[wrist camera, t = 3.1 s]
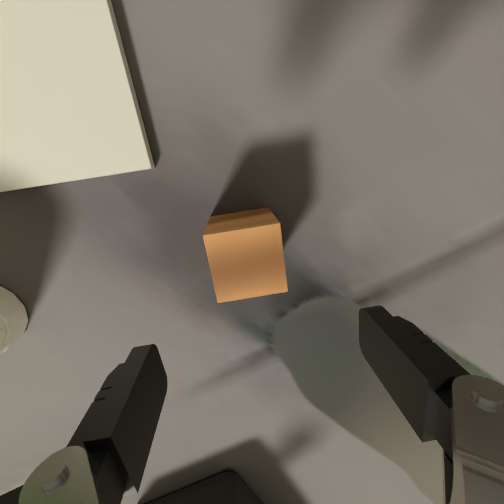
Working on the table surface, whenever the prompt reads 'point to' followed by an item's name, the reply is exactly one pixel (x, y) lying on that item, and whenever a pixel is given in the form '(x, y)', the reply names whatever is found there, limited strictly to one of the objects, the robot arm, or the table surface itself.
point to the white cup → (11, 319)
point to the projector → (213, 492)
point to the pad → (65, 95)
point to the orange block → (245, 254)
